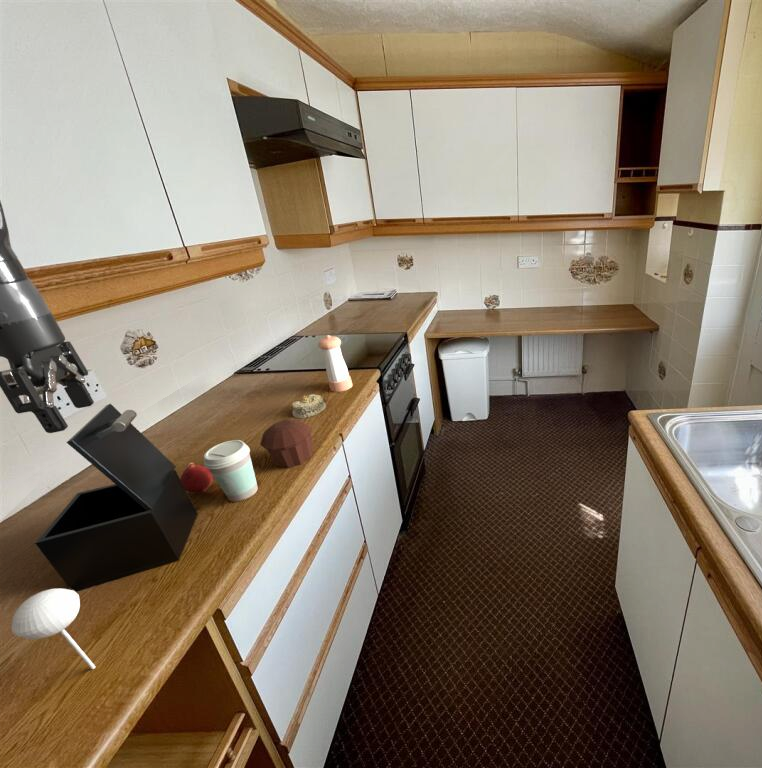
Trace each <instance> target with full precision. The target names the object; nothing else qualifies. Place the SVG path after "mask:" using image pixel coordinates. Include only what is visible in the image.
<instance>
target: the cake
mask: <svg viewBox="0 0 762 768" xmlns="http://www.w3.org/2000/svg"><path fill="white" fill-rule="evenodd" d="M302 398H303V399H302V400H297V401H293V402H292V404H291V407H292V410H293V411H292V416H293V417H294V418H299V419H305V418H310V417H314V416H316V415H317V416H318V415H319V414H321V413H322V412H323V411H325V410H326V408H327V403H326V402H325V401H324V398H323V396H321V395H319V394H312V393H311V394H309V395H303V397H302Z"/></svg>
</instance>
